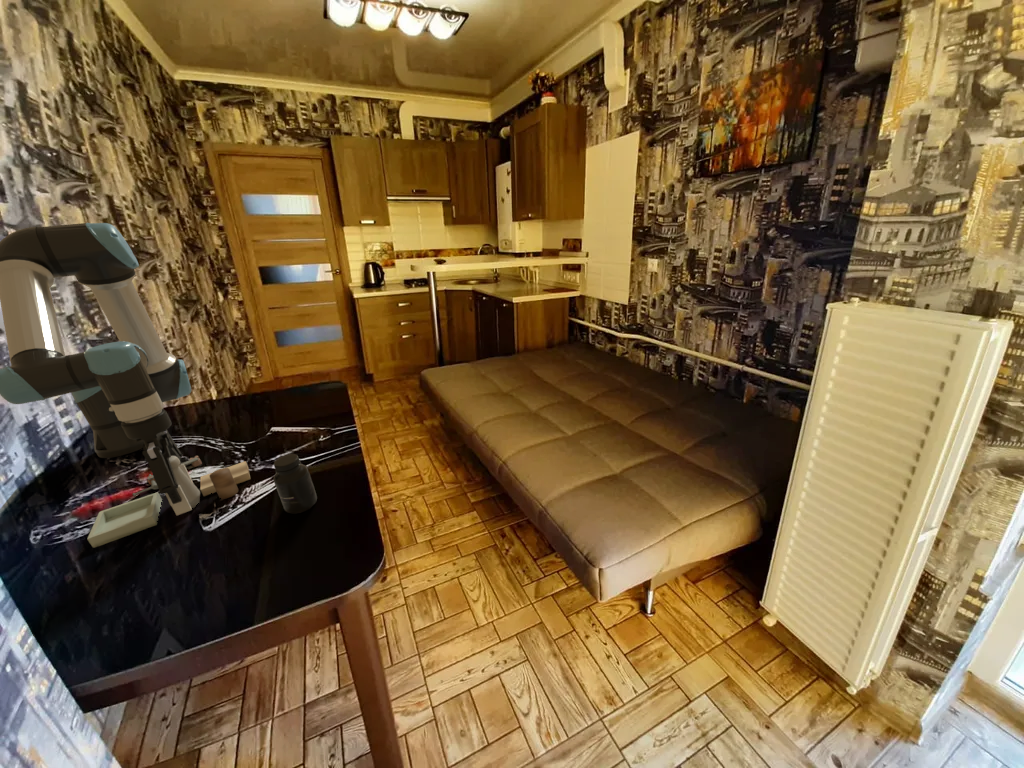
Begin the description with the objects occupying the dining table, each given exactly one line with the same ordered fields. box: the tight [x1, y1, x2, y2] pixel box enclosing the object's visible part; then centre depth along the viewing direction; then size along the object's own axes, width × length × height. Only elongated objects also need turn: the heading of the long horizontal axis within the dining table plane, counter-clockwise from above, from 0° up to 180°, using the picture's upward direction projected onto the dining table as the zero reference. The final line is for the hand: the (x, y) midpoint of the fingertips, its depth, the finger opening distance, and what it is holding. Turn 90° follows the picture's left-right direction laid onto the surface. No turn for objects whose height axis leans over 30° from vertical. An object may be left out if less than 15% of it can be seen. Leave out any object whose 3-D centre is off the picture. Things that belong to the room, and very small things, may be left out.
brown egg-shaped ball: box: [209, 467, 239, 500], centre depth 96 cm, size 4×4×6 cm
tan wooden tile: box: [199, 461, 251, 497], centre depth 102 cm, size 7×10×2 cm
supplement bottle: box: [273, 453, 318, 515], centre depth 89 cm, size 7×7×12 cm
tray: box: [87, 491, 163, 549], centre depth 90 cm, size 11×11×2 cm
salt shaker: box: [167, 456, 201, 509], centre depth 92 cm, size 6×6×13 cm
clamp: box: [132, 455, 203, 498], centre depth 107 cm, size 15×2×10 cm
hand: (186, 499), depth 94 cm, fingers open, 10 cm apart
